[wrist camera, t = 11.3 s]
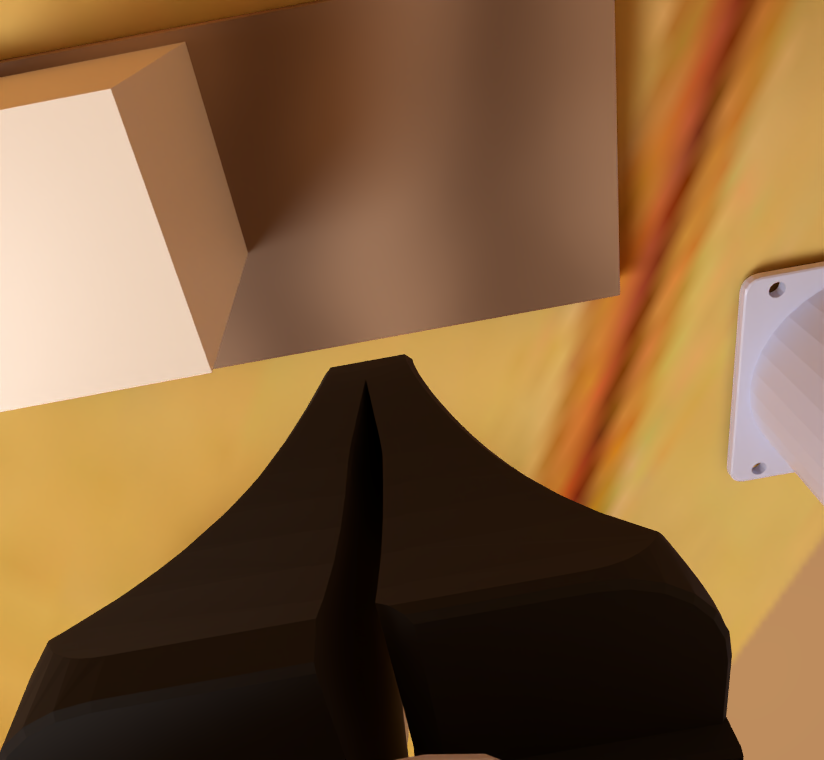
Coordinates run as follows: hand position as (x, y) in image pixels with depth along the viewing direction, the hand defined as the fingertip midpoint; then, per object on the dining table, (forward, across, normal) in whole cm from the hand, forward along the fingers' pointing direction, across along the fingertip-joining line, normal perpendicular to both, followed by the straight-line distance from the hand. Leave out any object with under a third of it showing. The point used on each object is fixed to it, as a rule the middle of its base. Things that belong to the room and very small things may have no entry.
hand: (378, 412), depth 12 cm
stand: (+10, +2, -1) cm, 11 cm away
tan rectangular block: (+9, +6, -2) cm, 11 cm away
